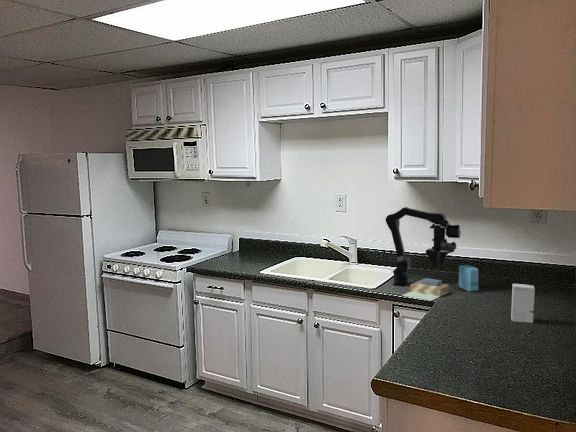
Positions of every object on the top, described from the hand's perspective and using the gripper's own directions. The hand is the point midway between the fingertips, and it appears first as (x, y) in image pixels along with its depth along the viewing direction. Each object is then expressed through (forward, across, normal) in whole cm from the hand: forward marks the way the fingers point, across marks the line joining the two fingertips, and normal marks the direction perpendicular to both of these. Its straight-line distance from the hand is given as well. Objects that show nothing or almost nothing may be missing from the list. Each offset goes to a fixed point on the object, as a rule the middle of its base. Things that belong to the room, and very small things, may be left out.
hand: (438, 266), depth 259 cm
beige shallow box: (+12, -10, 0) cm, 16 cm away
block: (+8, -9, 0) cm, 12 cm away
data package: (+12, +7, -13) cm, 19 cm away
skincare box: (+12, -29, -51) cm, 60 cm away
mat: (+12, -20, 0) cm, 23 cm away
